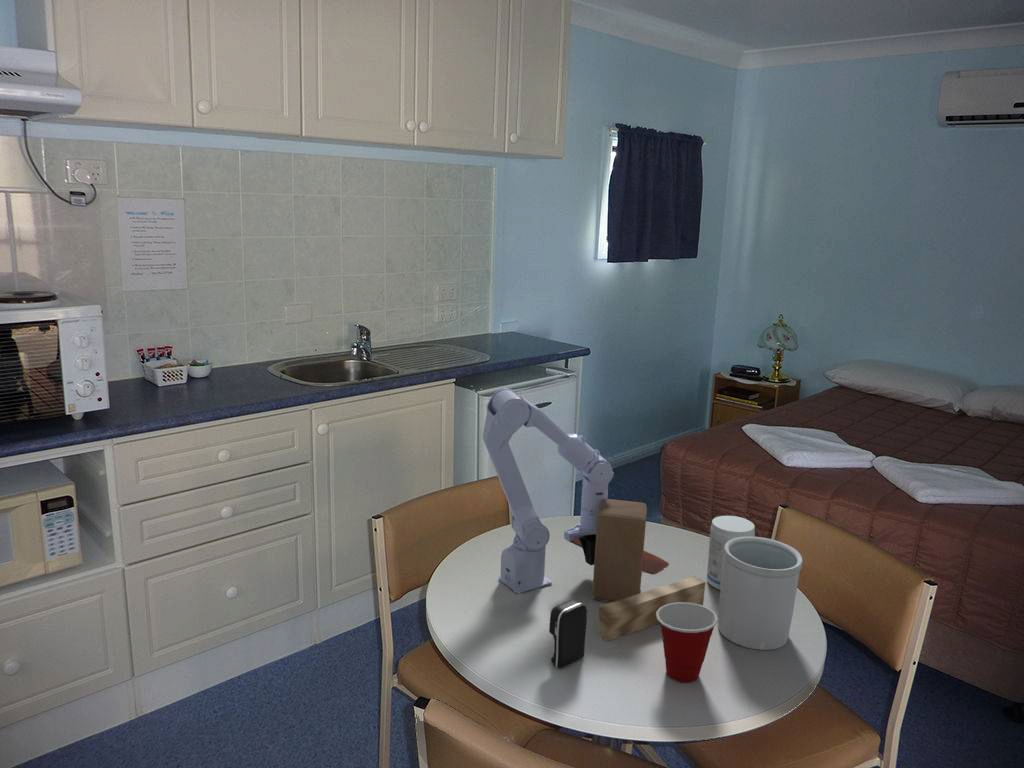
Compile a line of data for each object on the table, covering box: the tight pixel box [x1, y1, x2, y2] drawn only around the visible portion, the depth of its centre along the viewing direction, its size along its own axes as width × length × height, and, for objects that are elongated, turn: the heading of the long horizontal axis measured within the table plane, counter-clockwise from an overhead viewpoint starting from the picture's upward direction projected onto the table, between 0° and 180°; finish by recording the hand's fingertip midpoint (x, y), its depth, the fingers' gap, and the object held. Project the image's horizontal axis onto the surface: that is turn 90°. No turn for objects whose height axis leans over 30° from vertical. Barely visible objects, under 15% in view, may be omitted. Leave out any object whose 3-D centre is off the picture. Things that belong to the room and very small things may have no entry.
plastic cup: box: [656, 602, 718, 684], centre depth 143 cm, size 11×11×12 cm
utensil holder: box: [717, 536, 804, 651], centre depth 157 cm, size 15×15×18 cm
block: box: [591, 498, 648, 603], centre depth 170 cm, size 10×10×20 cm
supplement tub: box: [706, 515, 756, 591], centre depth 177 cm, size 10×10×15 cm
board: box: [597, 575, 706, 642], centre depth 161 cm, size 26×3×6 cm, turn 123°
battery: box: [548, 599, 588, 670], centre depth 146 cm, size 7×4×11 cm, turn 131°
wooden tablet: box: [570, 538, 670, 574], centre depth 193 cm, size 27×10×2 cm, turn 45°
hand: (590, 563), depth 180 cm, fingers closed
